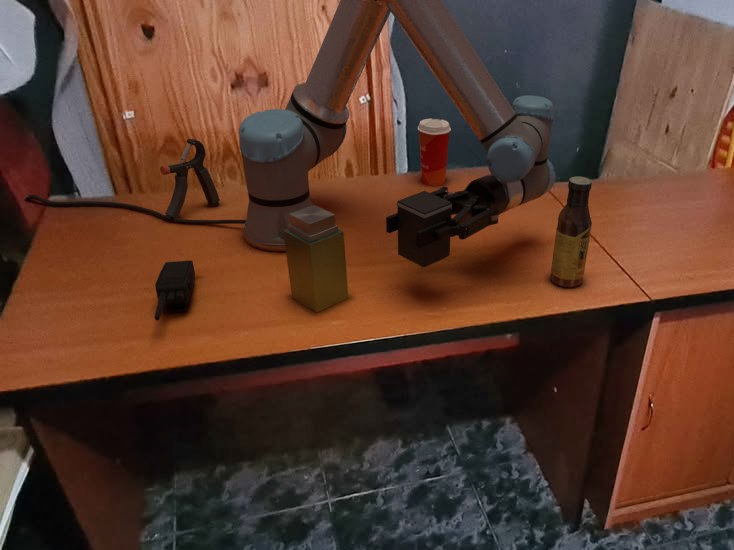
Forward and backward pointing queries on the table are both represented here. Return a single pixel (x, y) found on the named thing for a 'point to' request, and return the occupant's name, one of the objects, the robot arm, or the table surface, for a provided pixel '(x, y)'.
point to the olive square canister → (316, 258)
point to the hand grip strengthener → (181, 179)
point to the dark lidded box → (422, 227)
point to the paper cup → (433, 150)
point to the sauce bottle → (572, 235)
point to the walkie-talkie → (174, 286)
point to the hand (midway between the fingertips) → (402, 232)
